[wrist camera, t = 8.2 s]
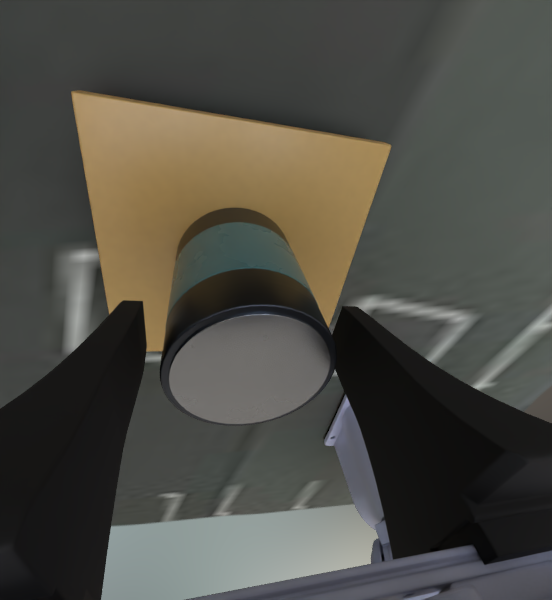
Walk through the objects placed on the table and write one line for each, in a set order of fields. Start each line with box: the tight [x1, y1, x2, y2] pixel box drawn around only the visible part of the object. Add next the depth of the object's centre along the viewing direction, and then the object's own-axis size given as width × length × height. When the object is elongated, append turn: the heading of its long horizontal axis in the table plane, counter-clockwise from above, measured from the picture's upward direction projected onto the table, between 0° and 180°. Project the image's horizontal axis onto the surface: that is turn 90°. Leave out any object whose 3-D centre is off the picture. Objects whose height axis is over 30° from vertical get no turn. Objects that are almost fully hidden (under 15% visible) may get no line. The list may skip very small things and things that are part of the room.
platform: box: [71, 90, 391, 351], centre depth 16 cm, size 12×12×2 cm
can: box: [160, 208, 337, 426], centre depth 12 cm, size 5×5×7 cm
